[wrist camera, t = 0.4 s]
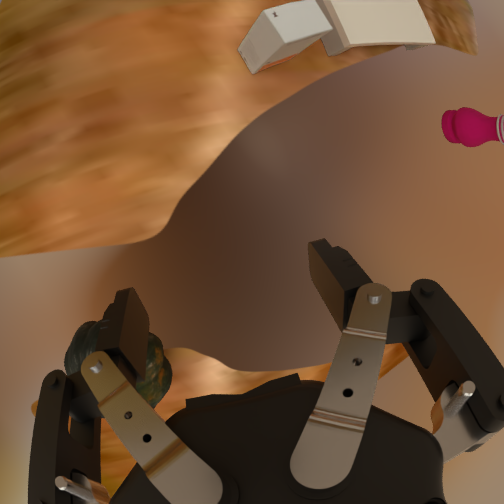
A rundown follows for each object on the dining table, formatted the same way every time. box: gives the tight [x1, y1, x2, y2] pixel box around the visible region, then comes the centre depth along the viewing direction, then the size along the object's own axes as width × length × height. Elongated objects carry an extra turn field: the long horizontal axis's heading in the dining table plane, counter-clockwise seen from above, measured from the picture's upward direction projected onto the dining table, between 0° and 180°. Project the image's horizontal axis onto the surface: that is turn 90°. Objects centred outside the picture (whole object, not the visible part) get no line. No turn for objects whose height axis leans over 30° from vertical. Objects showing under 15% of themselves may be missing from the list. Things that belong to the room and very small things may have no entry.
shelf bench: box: [315, 0, 436, 56], centre depth 28 cm, size 12×18×6 cm, turn 110°
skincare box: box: [237, 0, 333, 74], centre depth 26 cm, size 6×4×12 cm
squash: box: [64, 320, 172, 418], centre depth 33 cm, size 14×15×15 cm
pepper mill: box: [442, 107, 504, 147], centre depth 31 cm, size 7×7×20 cm
